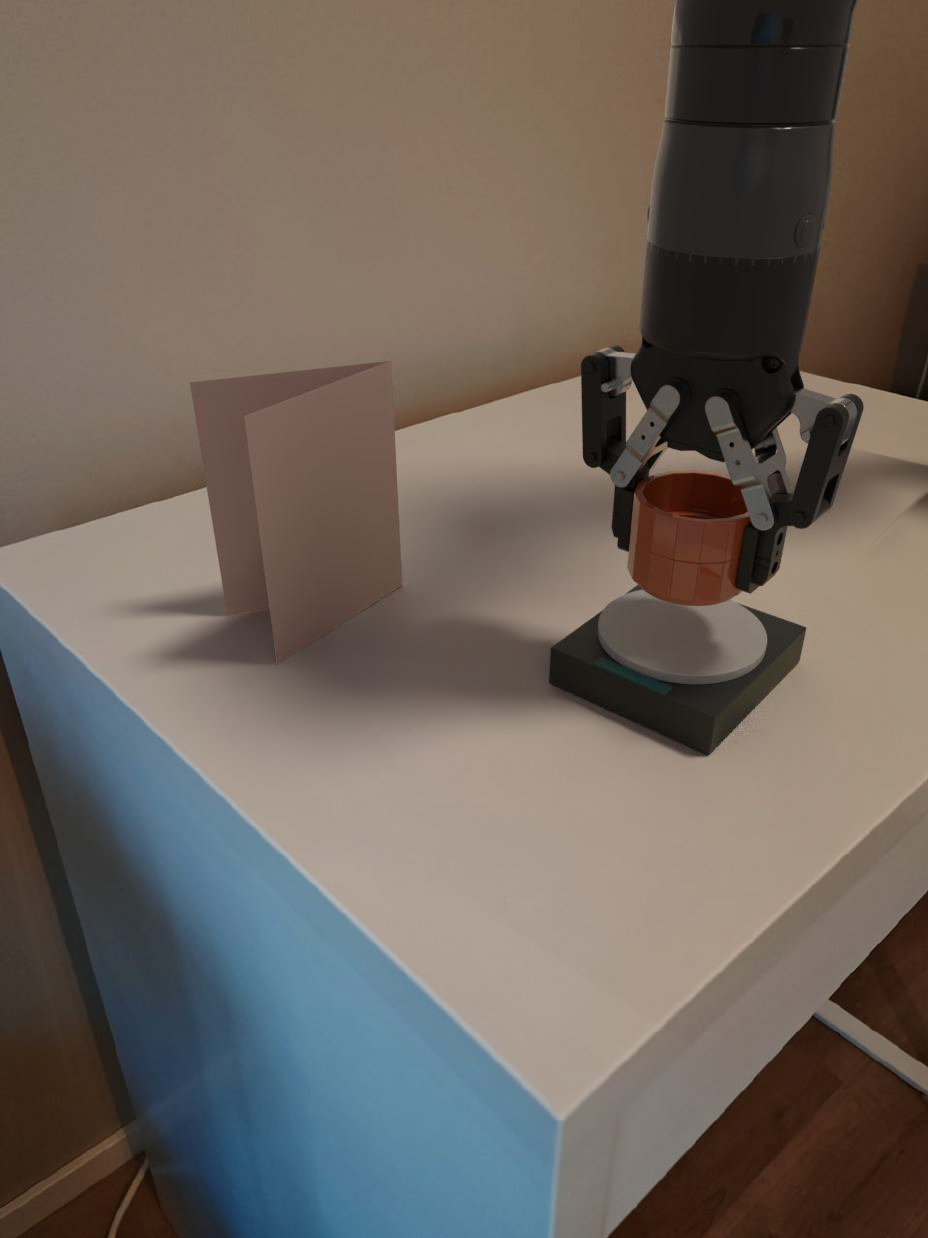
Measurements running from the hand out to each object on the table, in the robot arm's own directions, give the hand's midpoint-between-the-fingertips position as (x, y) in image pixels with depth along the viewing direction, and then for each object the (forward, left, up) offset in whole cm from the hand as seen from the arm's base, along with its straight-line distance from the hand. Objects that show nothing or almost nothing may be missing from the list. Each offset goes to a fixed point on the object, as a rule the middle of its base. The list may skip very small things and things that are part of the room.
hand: (689, 564), depth 51 cm
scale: (0, 0, -7) cm, 7 cm away
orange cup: (0, 0, -1) cm, 1 cm away
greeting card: (+9, -19, -7) cm, 23 cm away
